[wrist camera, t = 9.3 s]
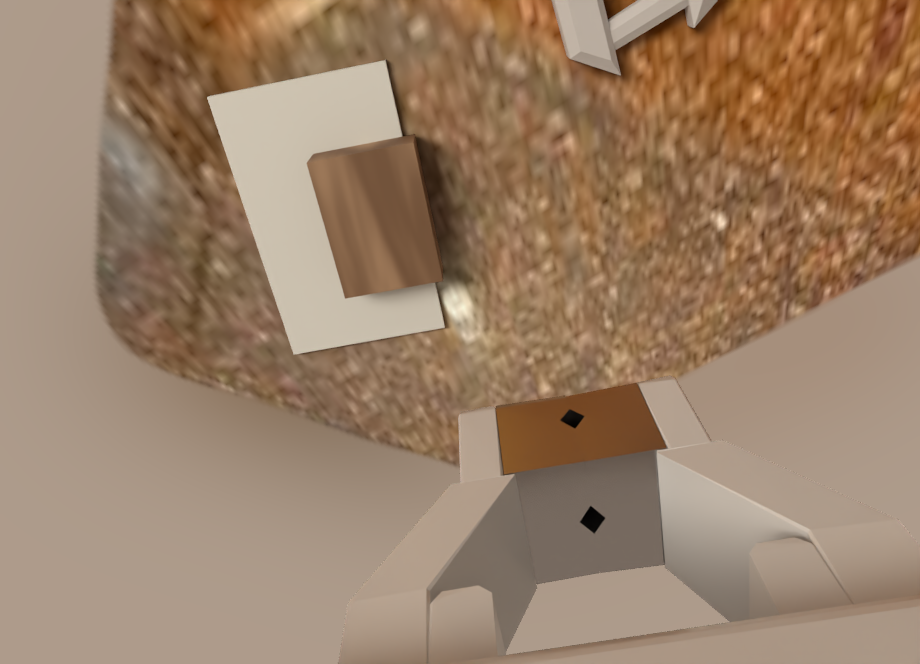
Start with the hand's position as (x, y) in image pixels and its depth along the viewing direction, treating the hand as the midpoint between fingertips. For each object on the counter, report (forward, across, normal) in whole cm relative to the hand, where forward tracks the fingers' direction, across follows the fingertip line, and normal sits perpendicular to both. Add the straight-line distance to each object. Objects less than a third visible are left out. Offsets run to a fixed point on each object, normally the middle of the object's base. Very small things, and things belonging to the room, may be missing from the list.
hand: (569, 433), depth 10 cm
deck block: (+36, +4, +7) cm, 36 cm away
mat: (+37, +10, +7) cm, 39 cm away
